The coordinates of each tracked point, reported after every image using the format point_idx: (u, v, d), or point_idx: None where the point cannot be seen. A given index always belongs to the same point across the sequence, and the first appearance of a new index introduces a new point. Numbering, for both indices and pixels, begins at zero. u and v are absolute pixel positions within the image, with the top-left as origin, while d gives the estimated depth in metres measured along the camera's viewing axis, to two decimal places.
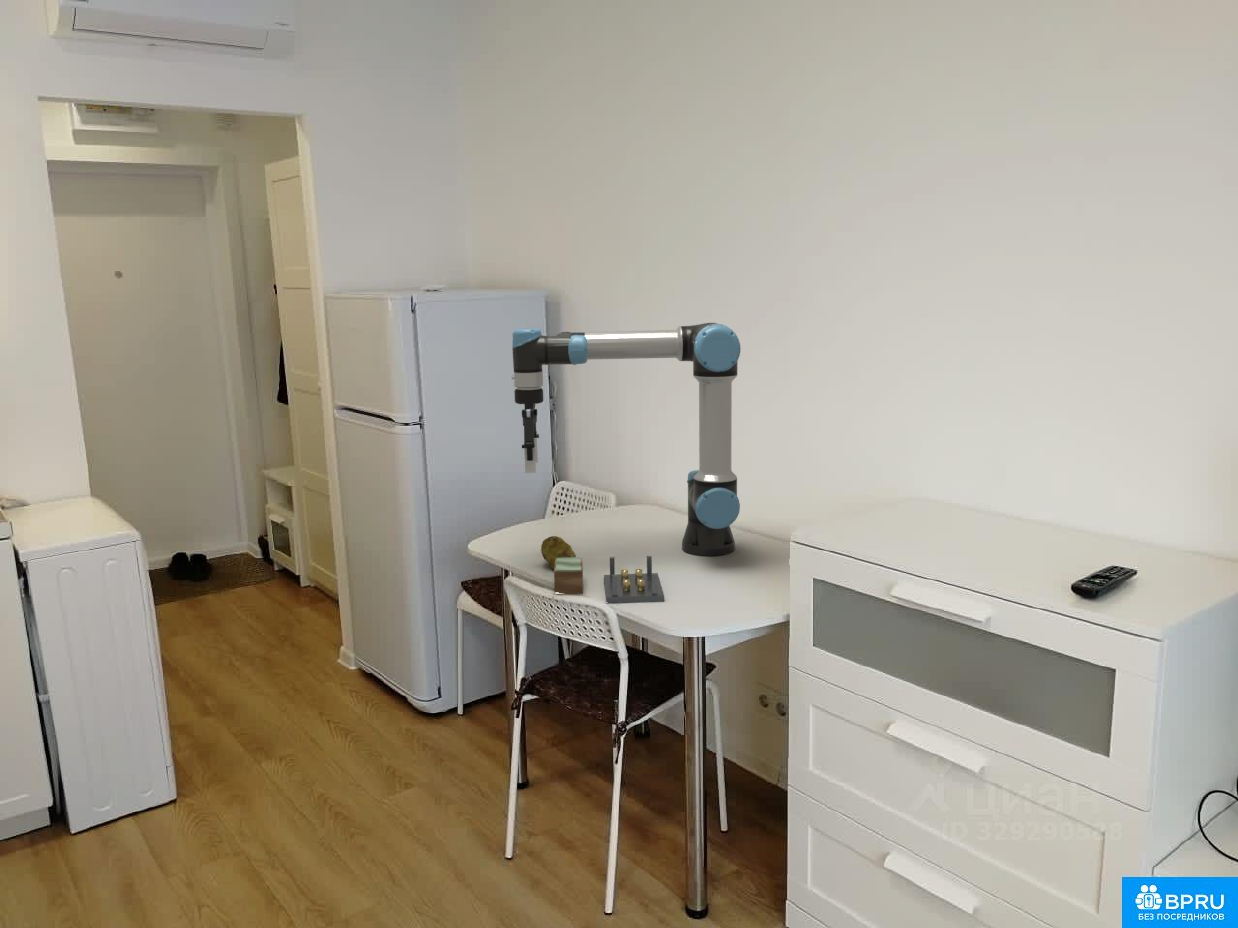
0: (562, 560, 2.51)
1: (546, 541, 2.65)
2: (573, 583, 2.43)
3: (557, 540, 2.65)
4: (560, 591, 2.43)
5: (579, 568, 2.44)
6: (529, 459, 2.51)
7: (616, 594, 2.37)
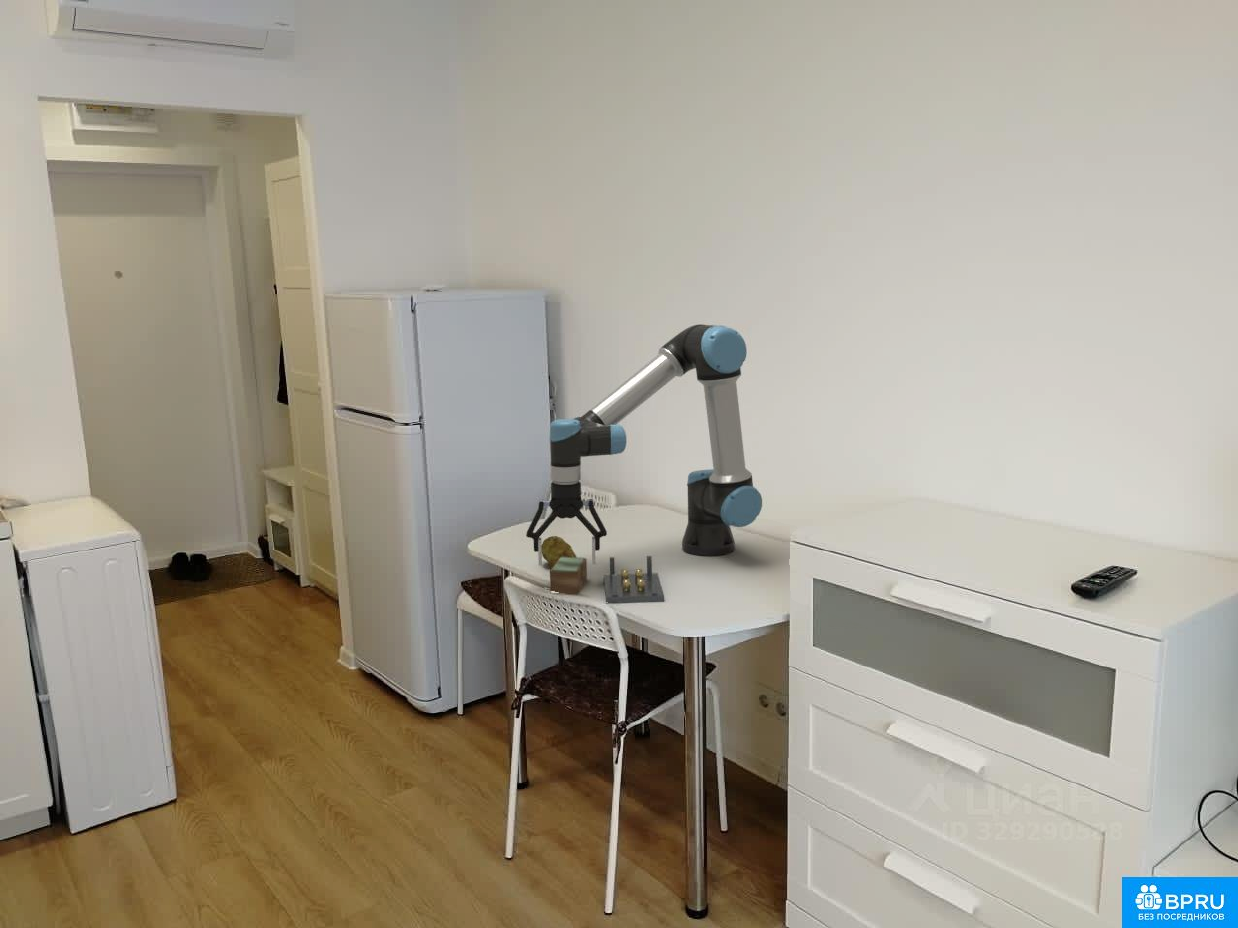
0: (564, 560, 2.51)
1: (546, 541, 2.65)
2: (568, 584, 2.43)
3: (557, 540, 2.65)
4: (556, 591, 2.44)
5: (575, 569, 2.43)
6: None
7: (616, 594, 2.37)
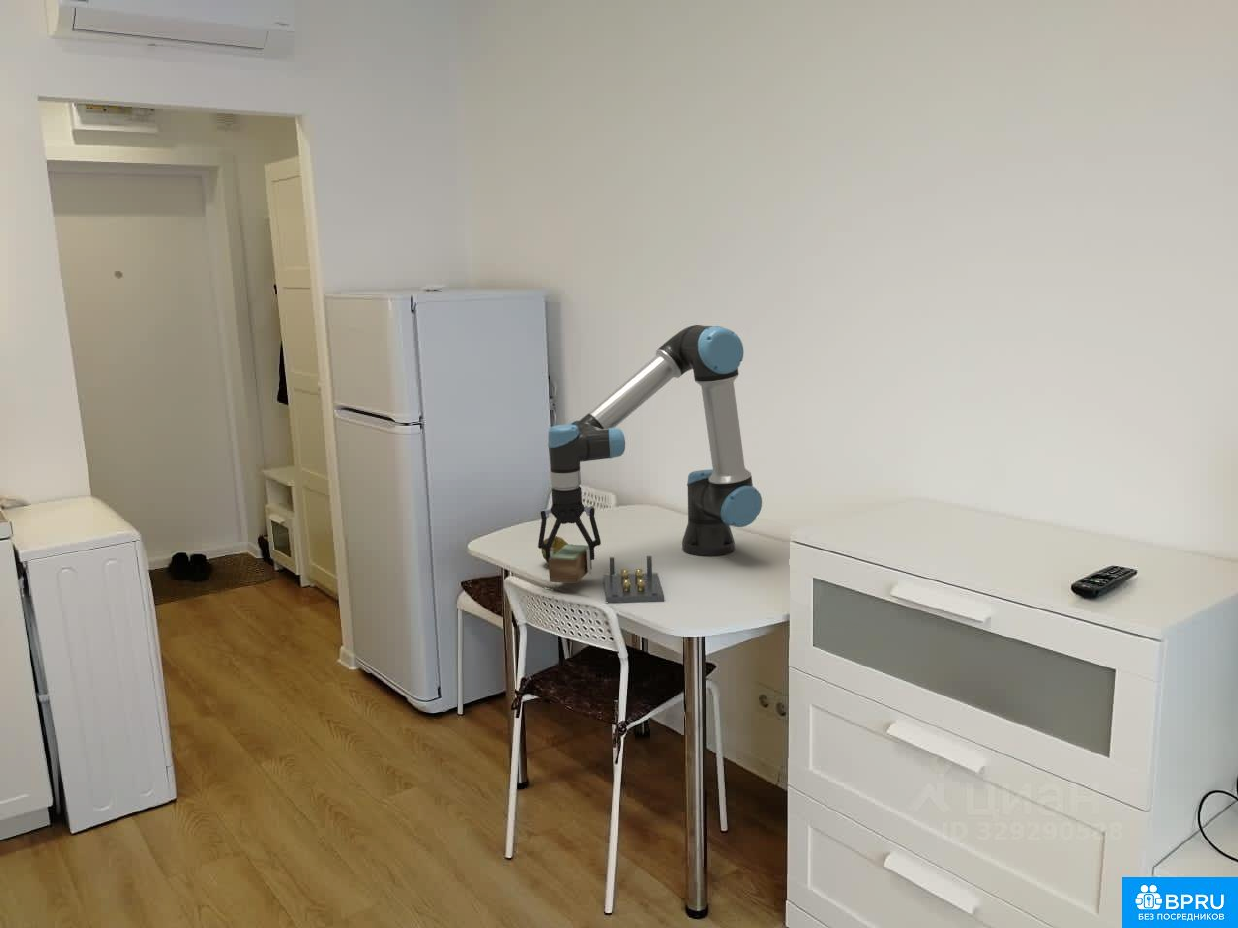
0: (568, 547, 2.51)
1: (546, 541, 2.65)
2: (566, 571, 2.43)
3: (557, 540, 2.65)
4: (555, 578, 2.44)
5: (574, 557, 2.43)
6: None
7: (616, 594, 2.37)
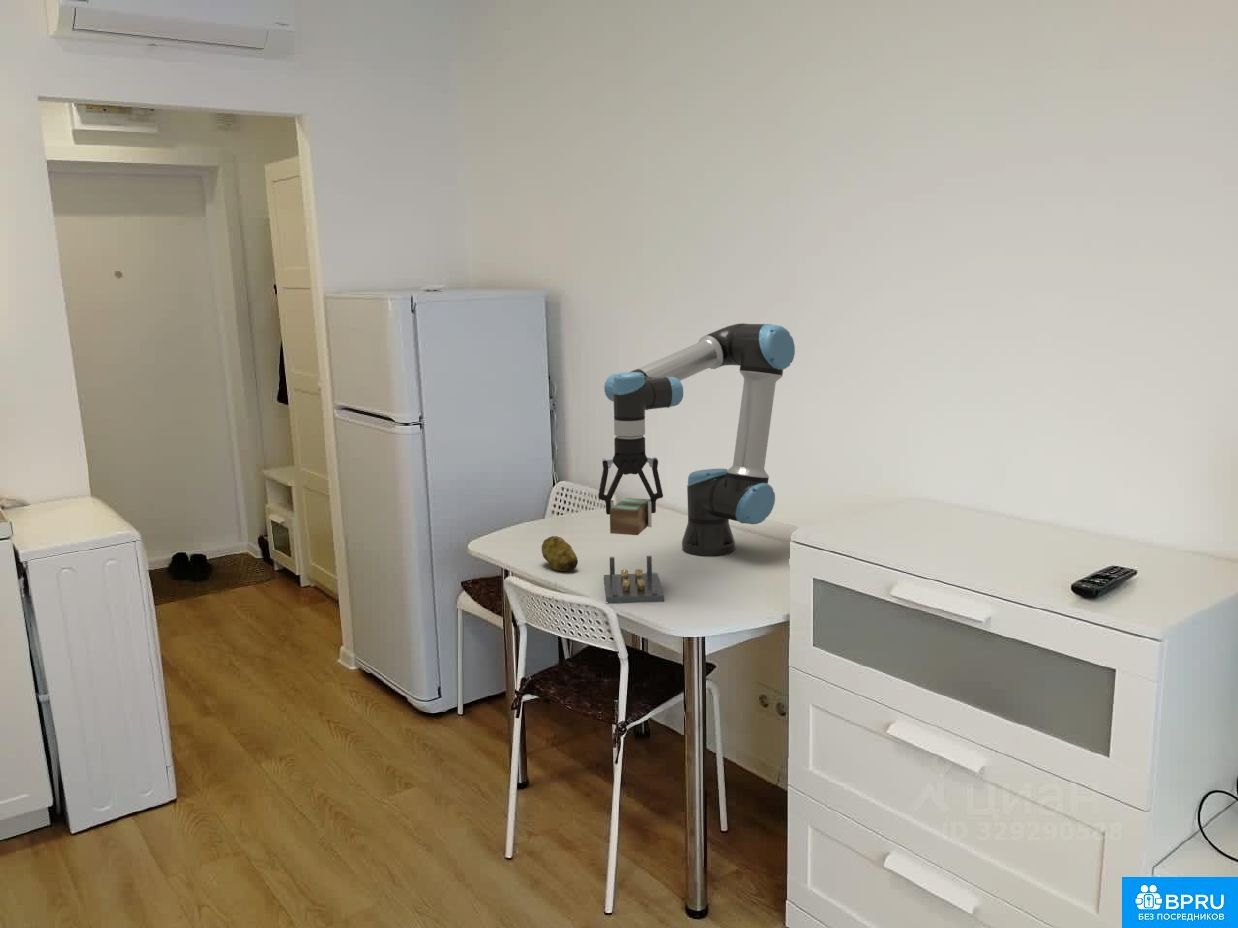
0: (628, 500, 2.44)
1: (546, 541, 2.65)
2: (628, 523, 2.36)
3: (558, 540, 2.65)
4: (615, 530, 2.37)
5: (636, 508, 2.36)
6: (606, 512, 2.41)
7: (616, 594, 2.37)
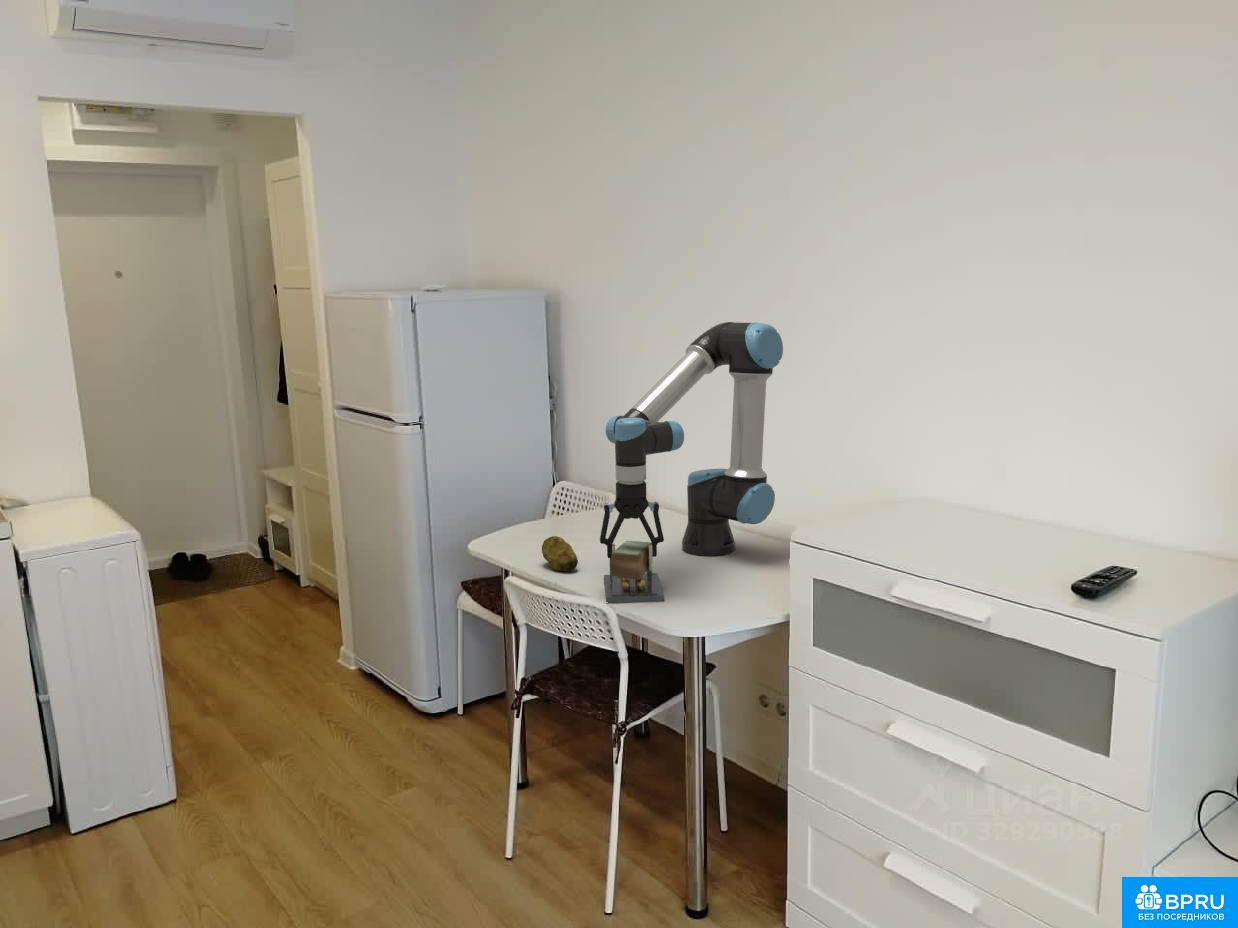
0: (629, 543, 2.46)
1: (547, 541, 2.65)
2: (629, 567, 2.38)
3: (558, 540, 2.65)
4: (617, 574, 2.39)
5: (637, 552, 2.38)
6: None
7: (616, 594, 2.37)
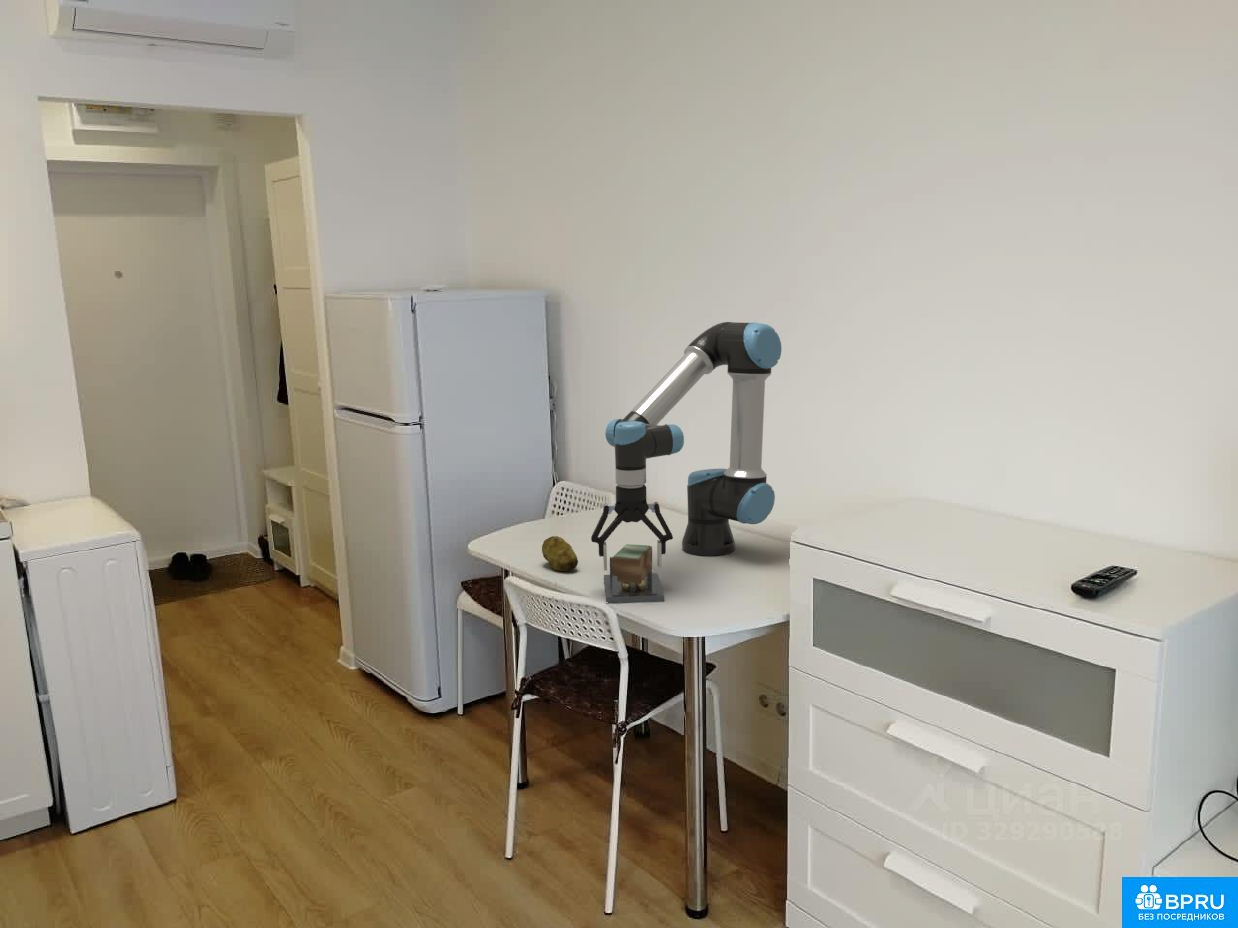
0: (629, 547, 2.46)
1: (547, 541, 2.65)
2: (630, 571, 2.38)
3: (558, 540, 2.65)
4: (617, 578, 2.39)
5: (638, 556, 2.38)
6: (599, 554, 2.43)
7: (616, 594, 2.37)
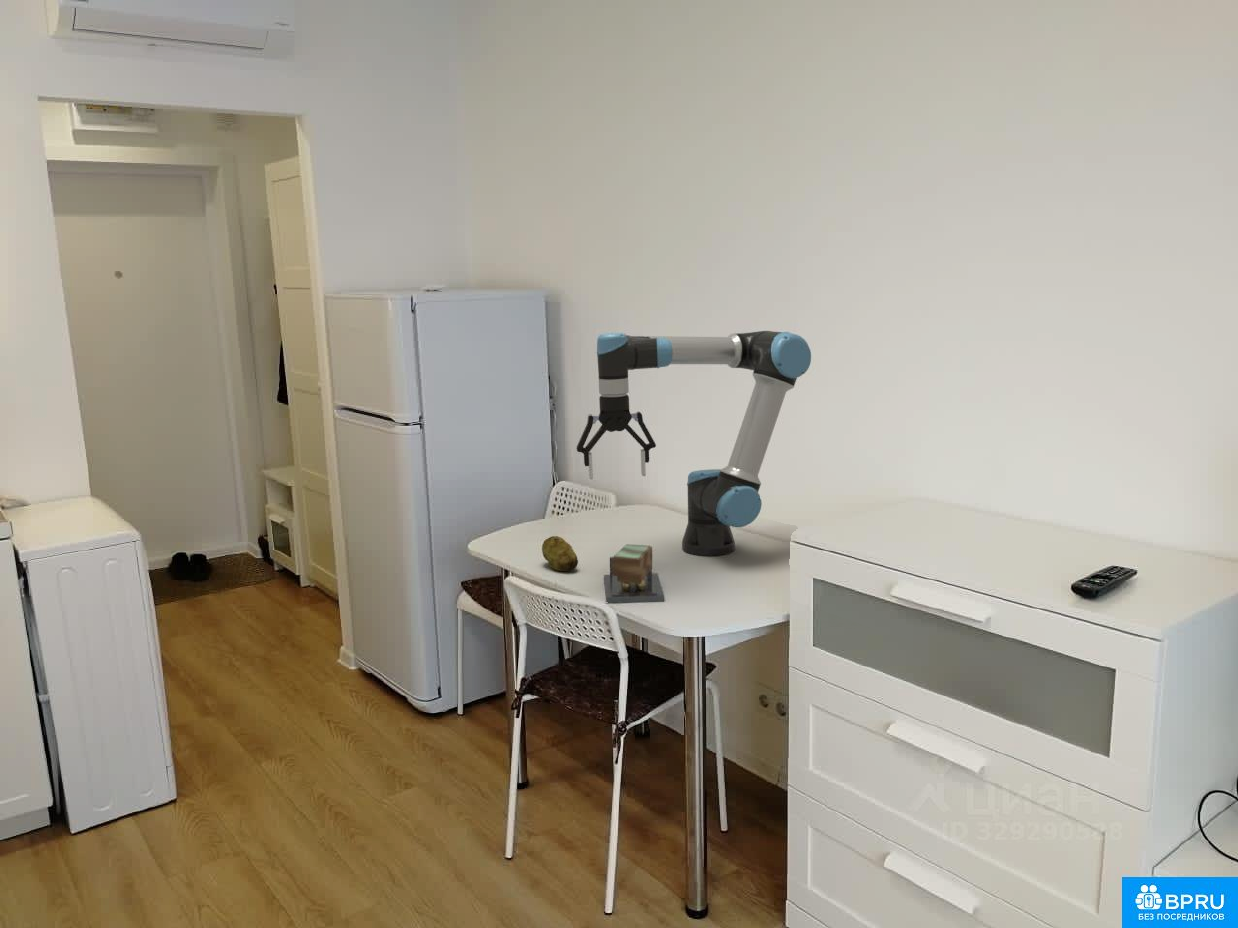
0: (629, 547, 2.46)
1: (547, 541, 2.65)
2: (630, 571, 2.38)
3: (558, 540, 2.65)
4: (617, 578, 2.39)
5: (638, 556, 2.38)
6: None
7: (616, 594, 2.37)
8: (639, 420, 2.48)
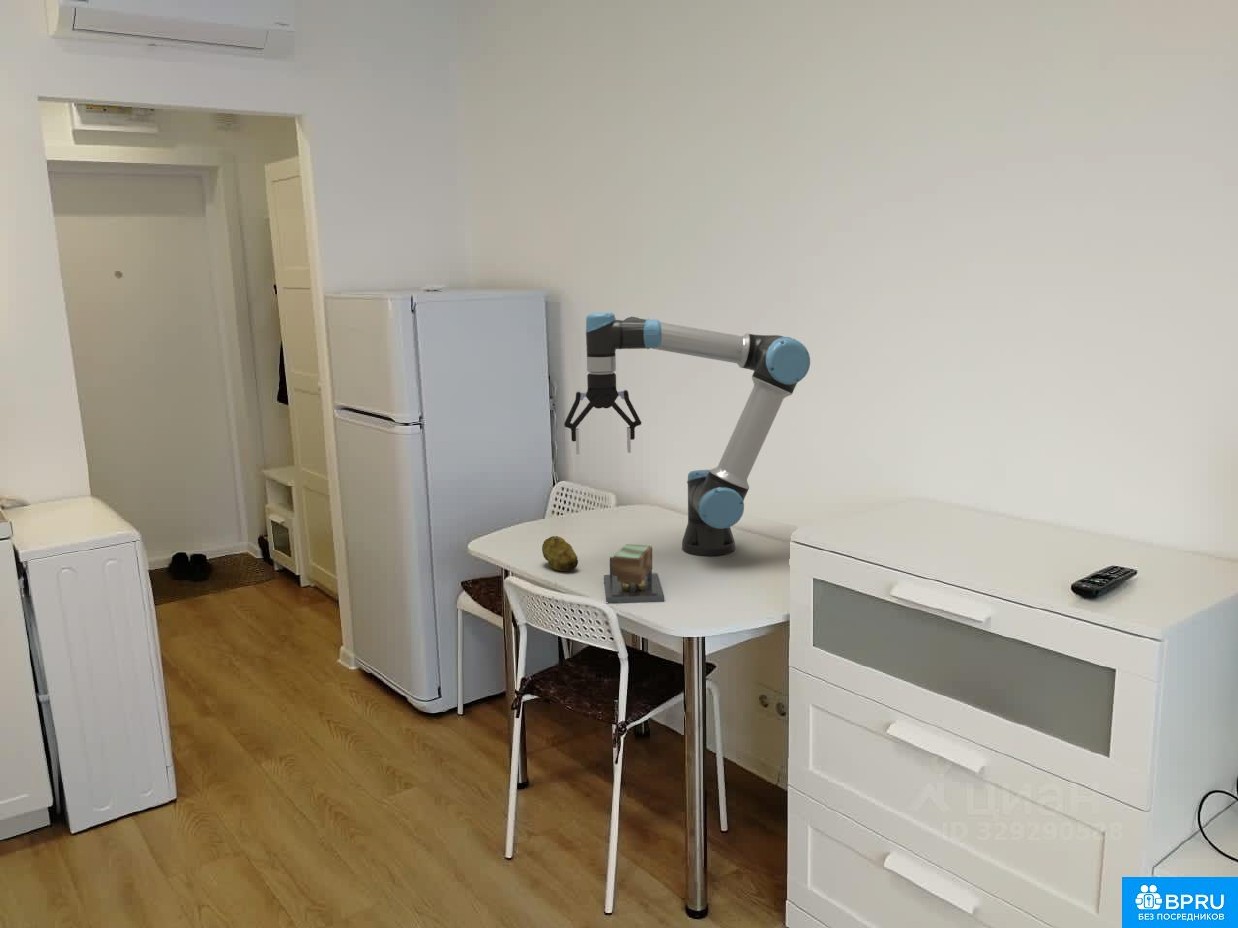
0: (629, 547, 2.46)
1: (547, 541, 2.65)
2: (630, 571, 2.38)
3: (558, 540, 2.65)
4: (617, 578, 2.39)
5: (638, 556, 2.38)
6: None
7: (616, 594, 2.37)
8: (625, 398, 2.55)
